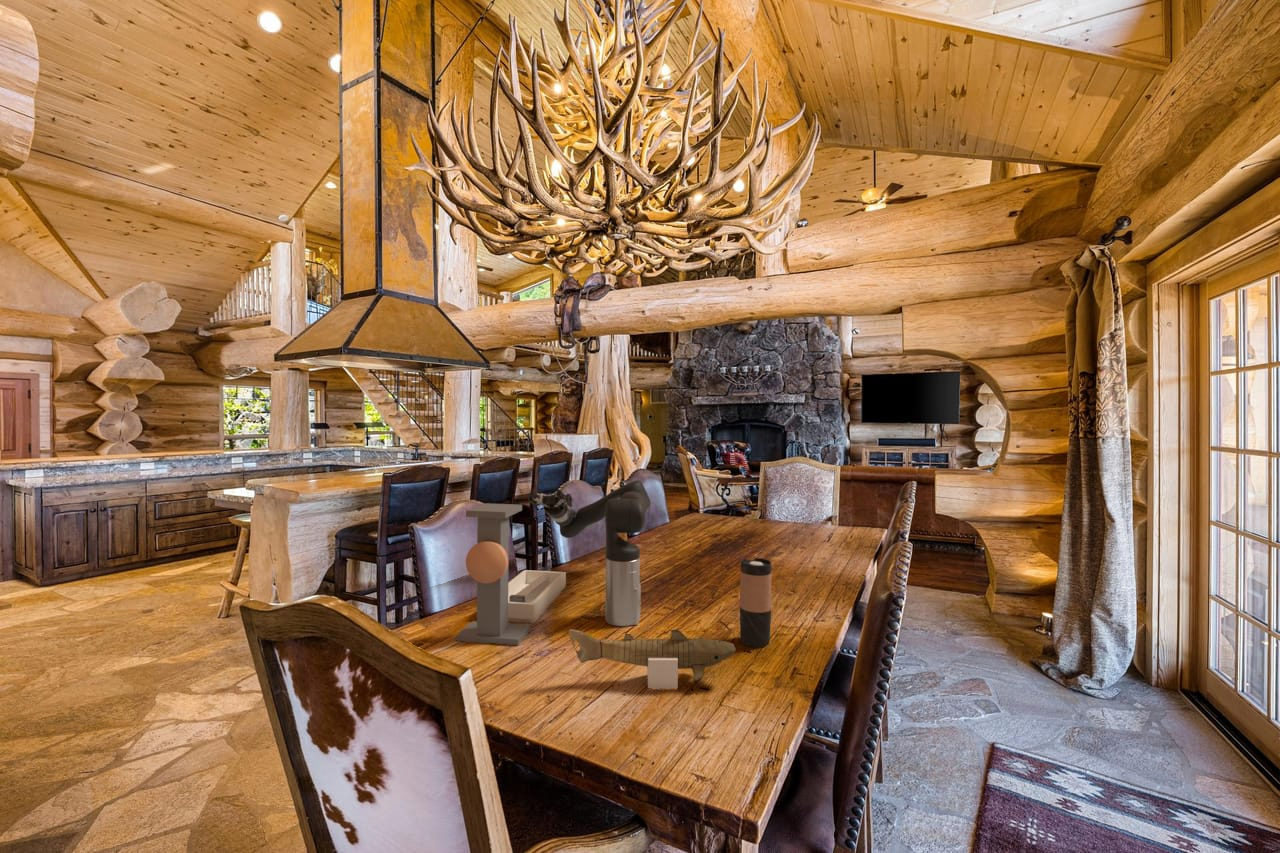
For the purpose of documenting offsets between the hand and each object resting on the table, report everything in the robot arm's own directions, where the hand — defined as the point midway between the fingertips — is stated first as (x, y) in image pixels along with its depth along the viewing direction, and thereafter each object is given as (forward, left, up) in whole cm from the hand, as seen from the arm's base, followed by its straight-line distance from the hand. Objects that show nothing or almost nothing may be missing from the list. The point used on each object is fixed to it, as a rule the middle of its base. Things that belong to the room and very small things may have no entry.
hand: (545, 491), depth 171 cm
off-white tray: (0, +15, -31) cm, 34 cm away
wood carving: (-42, +56, -31) cm, 77 cm away
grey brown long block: (0, +14, -30) cm, 33 cm away
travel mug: (-65, +32, -31) cm, 79 cm away
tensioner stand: (0, +39, -31) cm, 50 cm away
